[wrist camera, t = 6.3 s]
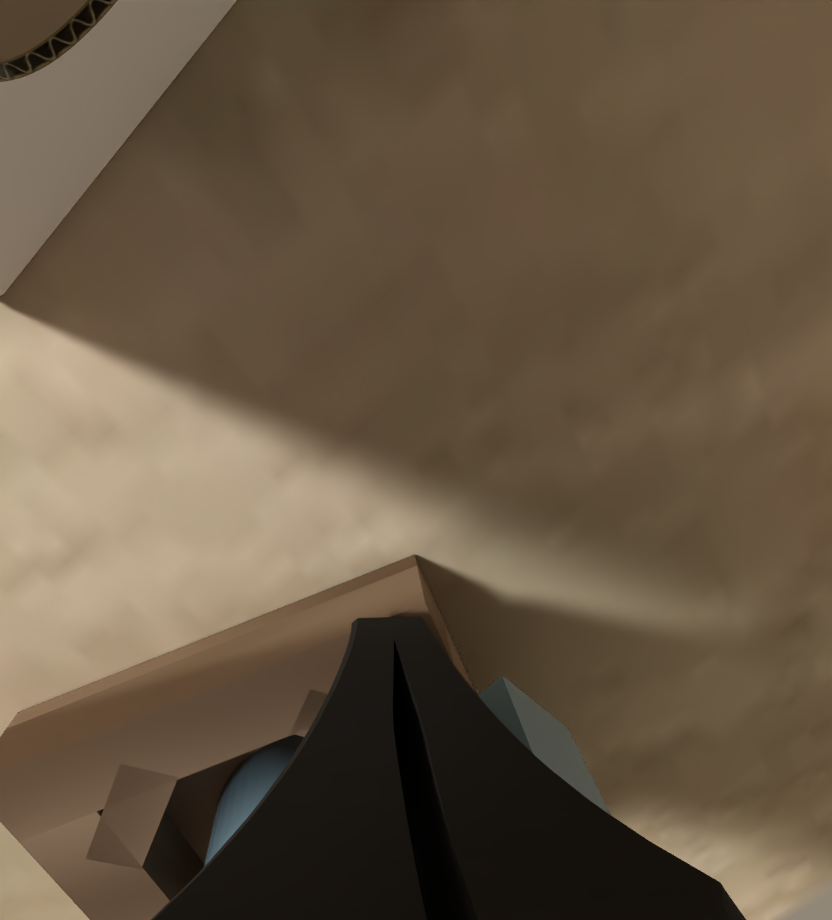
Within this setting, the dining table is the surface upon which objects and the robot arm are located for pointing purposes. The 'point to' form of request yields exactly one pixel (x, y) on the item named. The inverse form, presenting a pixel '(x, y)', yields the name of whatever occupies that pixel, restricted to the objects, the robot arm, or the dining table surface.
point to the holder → (179, 742)
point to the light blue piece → (501, 698)
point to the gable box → (79, 99)
